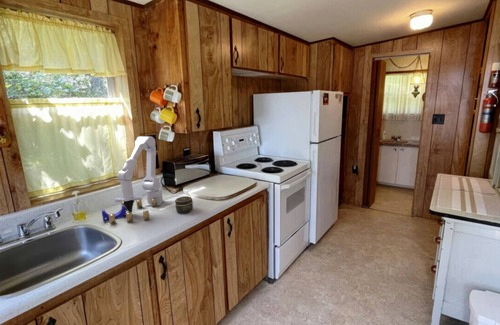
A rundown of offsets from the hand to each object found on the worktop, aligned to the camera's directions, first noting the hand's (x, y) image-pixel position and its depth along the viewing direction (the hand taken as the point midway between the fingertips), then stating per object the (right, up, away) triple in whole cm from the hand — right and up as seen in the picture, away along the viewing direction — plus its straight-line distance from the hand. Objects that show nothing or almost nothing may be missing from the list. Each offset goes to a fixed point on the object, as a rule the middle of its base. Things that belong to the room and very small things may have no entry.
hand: (130, 212), depth 154 cm
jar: (+32, 0, +2) cm, 32 cm away
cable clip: (-8, -3, -3) cm, 9 cm away
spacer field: (+3, -1, +1) cm, 3 cm away
